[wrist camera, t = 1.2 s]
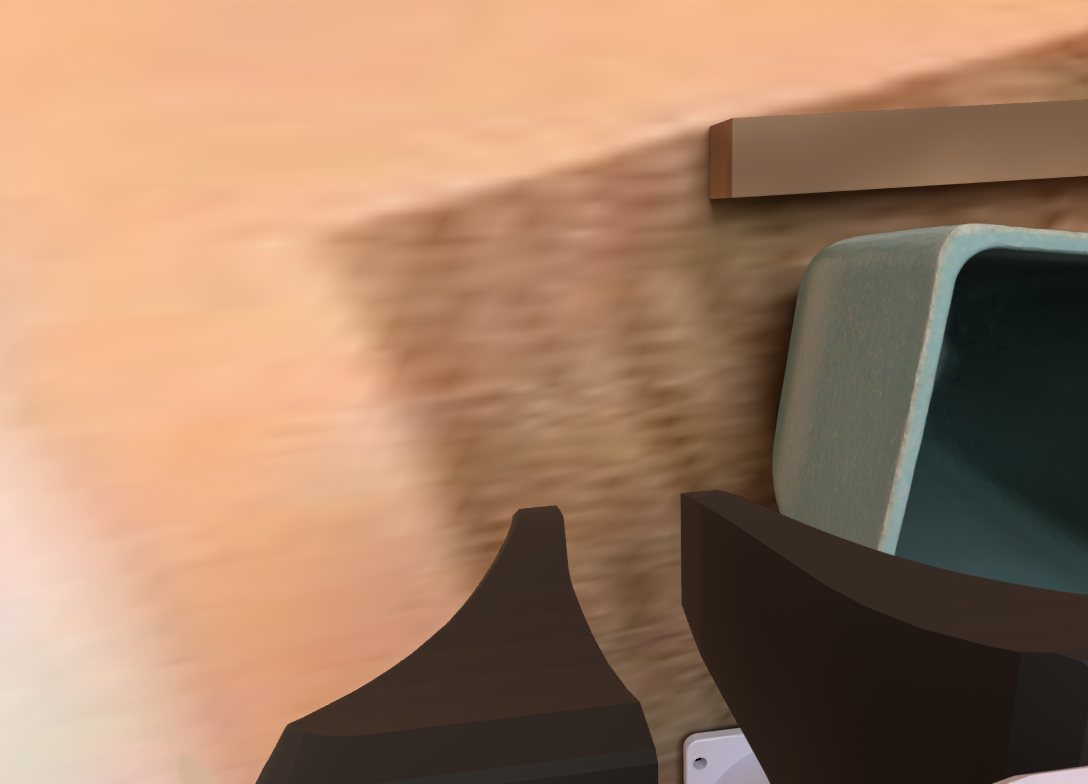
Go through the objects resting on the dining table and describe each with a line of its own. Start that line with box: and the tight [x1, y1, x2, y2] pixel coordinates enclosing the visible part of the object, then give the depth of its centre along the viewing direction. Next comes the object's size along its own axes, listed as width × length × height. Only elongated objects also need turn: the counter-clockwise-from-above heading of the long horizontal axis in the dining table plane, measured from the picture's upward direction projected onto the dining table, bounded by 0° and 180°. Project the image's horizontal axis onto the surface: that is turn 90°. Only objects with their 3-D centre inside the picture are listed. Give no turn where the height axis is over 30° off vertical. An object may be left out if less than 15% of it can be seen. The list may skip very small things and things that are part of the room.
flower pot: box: [772, 224, 1088, 595], centre depth 18 cm, size 9×9×9 cm
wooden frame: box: [710, 100, 1088, 199], centre depth 22 cm, size 15×24×2 cm, turn 93°
